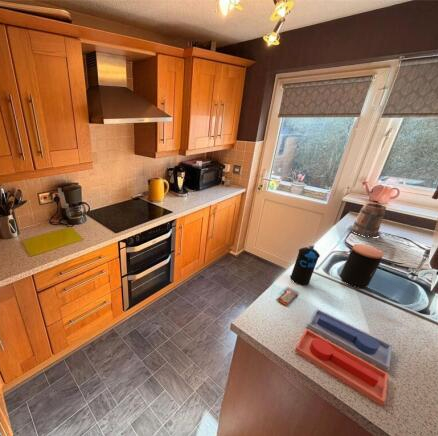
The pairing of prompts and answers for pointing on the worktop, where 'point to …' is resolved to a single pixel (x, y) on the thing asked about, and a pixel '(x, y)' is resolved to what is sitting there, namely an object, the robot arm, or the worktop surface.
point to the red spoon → (342, 361)
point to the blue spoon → (351, 335)
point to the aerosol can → (304, 265)
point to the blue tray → (378, 358)
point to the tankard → (369, 220)
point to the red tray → (372, 392)
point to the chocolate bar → (287, 297)
